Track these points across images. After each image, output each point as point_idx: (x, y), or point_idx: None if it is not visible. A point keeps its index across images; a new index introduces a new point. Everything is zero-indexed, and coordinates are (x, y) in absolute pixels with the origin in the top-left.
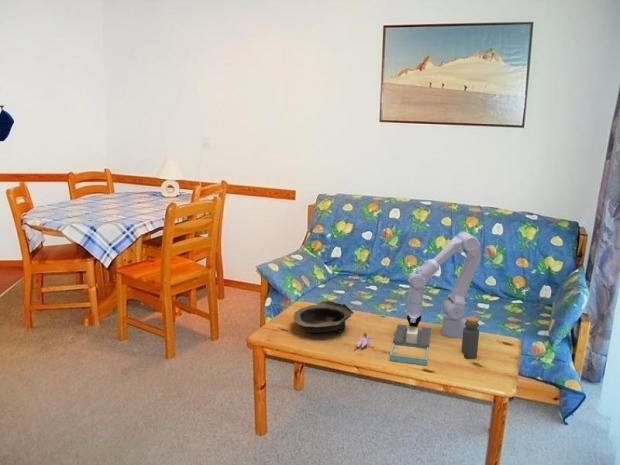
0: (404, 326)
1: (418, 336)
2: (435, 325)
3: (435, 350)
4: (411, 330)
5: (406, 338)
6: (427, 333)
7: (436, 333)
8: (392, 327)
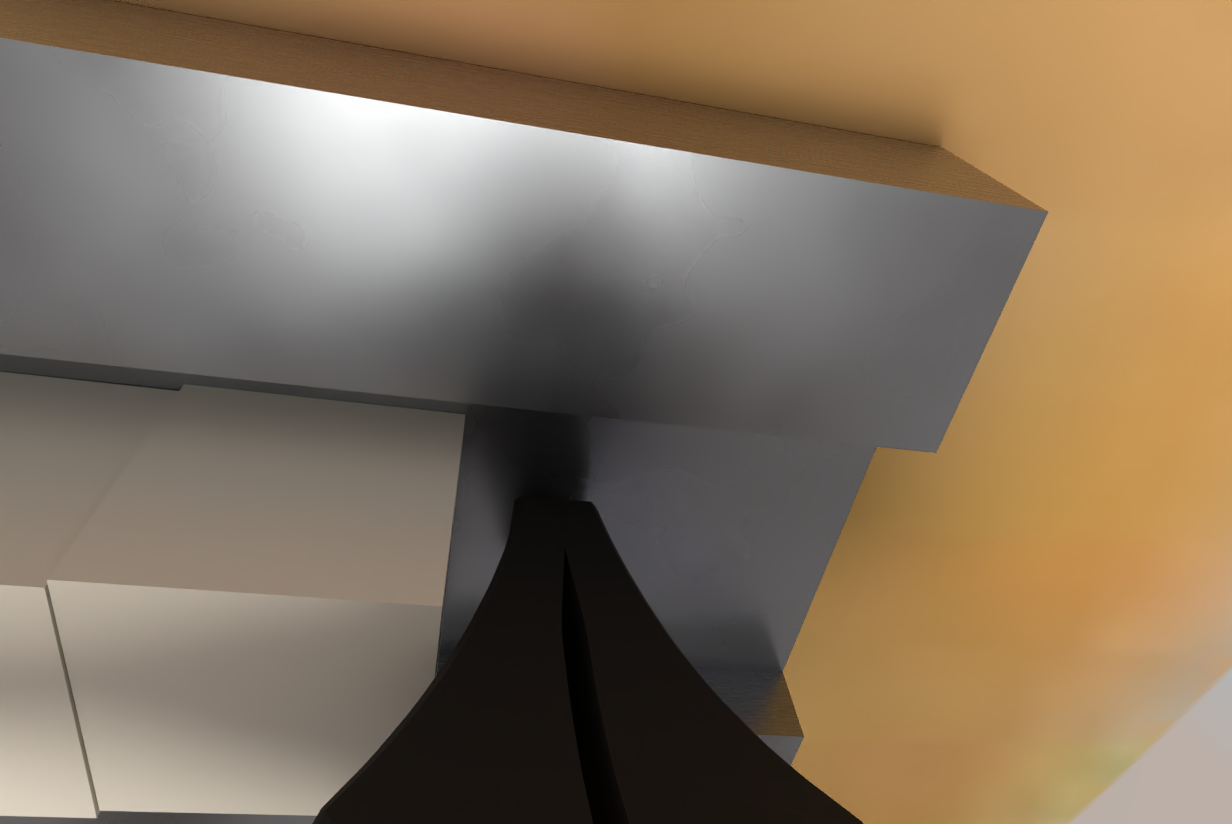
0: (848, 398)
1: None
2: (1106, 780)
3: None
4: (8, 685)
5: (197, 375)
6: None
7: None
8: (1217, 10)
